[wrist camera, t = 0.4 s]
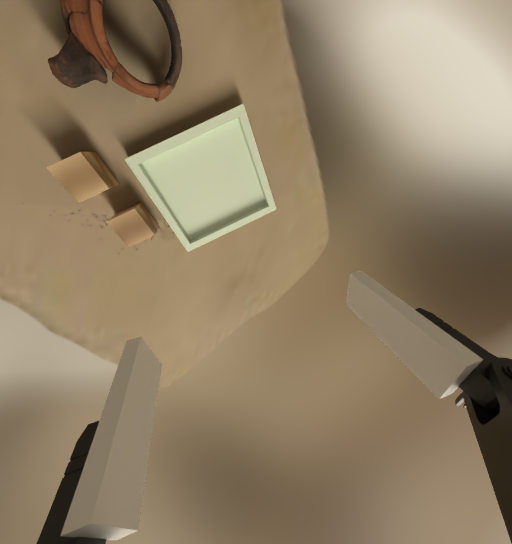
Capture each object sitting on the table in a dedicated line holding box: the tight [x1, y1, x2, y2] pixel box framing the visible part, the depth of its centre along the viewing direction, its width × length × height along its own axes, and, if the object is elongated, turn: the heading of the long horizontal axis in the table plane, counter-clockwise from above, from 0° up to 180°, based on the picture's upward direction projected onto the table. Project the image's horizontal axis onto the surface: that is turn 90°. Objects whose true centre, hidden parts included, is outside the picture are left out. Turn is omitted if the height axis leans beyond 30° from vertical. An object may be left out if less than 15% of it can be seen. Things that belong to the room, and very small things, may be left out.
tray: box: [125, 104, 276, 252], centre depth 29 cm, size 14×16×2 cm
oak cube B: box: [107, 202, 159, 247], centre depth 28 cm, size 4×4×4 cm
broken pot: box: [48, 0, 182, 102], centre depth 19 cm, size 12×9×8 cm
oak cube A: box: [46, 152, 119, 203], centre depth 24 cm, size 4×4×4 cm
